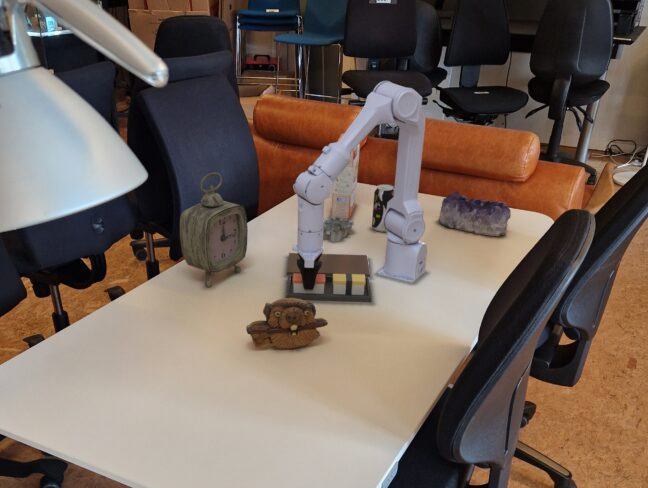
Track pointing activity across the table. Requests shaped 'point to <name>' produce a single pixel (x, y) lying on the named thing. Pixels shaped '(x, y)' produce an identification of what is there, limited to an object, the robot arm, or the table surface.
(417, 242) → the robot arm
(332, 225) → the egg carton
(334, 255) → the serving board
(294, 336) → the wooden carving
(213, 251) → the tabletop clock
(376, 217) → the beverage can
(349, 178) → the cracker box
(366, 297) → the sushi tray
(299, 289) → the salmon nigiri
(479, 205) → the geode
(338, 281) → the tamago nigiri
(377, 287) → the table surface
